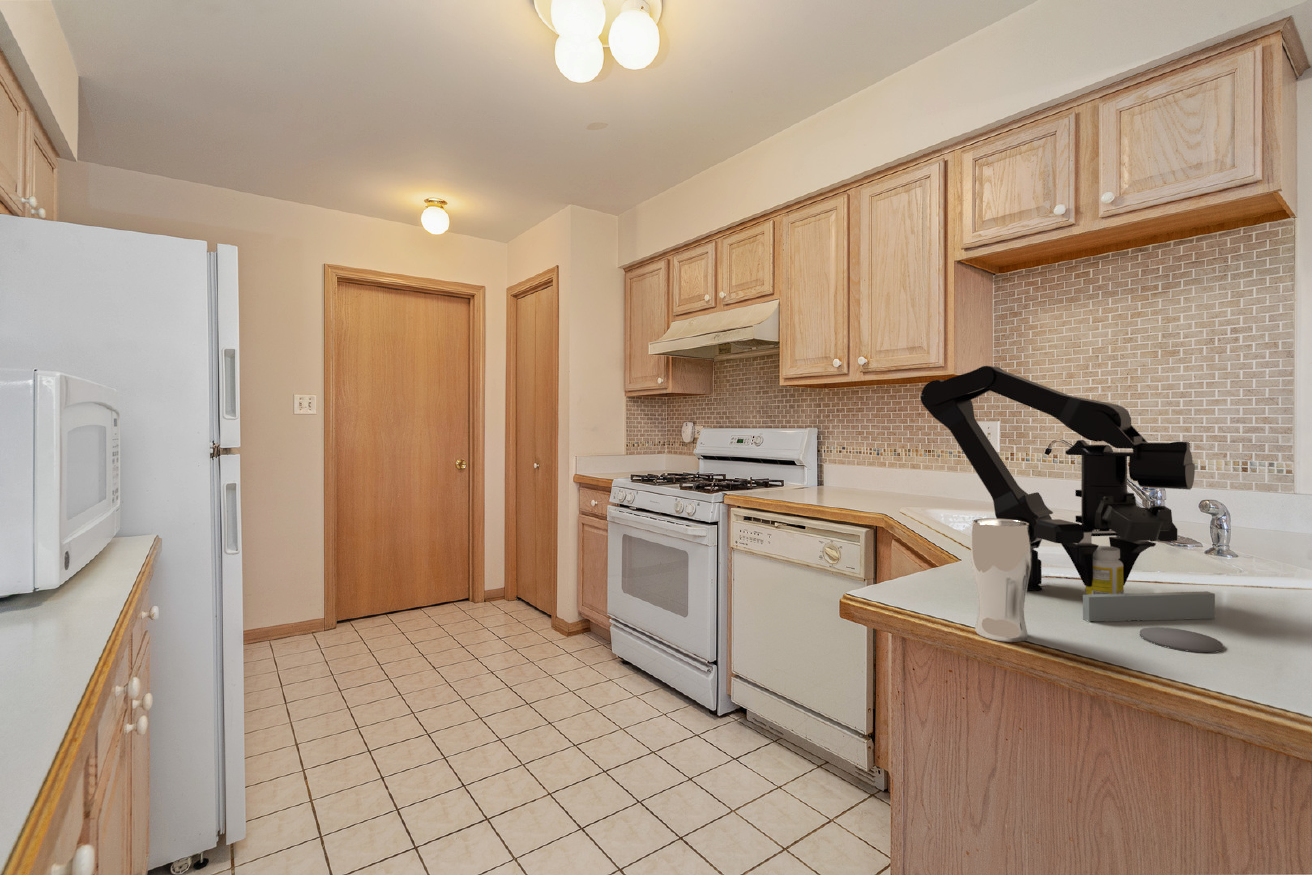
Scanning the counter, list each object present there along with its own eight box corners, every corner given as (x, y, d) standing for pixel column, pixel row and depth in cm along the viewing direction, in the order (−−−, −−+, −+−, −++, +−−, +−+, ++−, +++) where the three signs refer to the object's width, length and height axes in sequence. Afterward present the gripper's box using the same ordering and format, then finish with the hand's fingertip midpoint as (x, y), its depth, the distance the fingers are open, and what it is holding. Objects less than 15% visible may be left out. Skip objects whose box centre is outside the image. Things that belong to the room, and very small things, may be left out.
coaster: (1162, 650, 74) (1162, 647, 74) (1127, 628, 82) (1127, 625, 82) (1239, 654, 73) (1239, 651, 73) (1196, 631, 81) (1196, 628, 81)
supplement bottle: (1111, 597, 96) (1110, 544, 96) (1131, 606, 92) (1131, 551, 92) (1078, 597, 97) (1078, 544, 97) (1097, 606, 92) (1097, 550, 92)
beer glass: (959, 630, 83) (958, 520, 83) (995, 622, 86) (994, 516, 85) (1007, 647, 77) (1006, 528, 76) (1044, 638, 79) (1043, 523, 79)
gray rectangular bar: (1089, 621, 85) (1089, 597, 85) (1082, 619, 86) (1082, 594, 86) (1214, 618, 86) (1214, 593, 86) (1206, 615, 87) (1206, 591, 87)
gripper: (1082, 492, 86) (1082, 602, 86) (1212, 489, 86) (1211, 599, 86) (1031, 484, 97) (1032, 582, 97) (1146, 481, 97) (1146, 578, 98)
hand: (1104, 585), depth 94 cm, fingers closed on supplement bottle, 5 cm apart
